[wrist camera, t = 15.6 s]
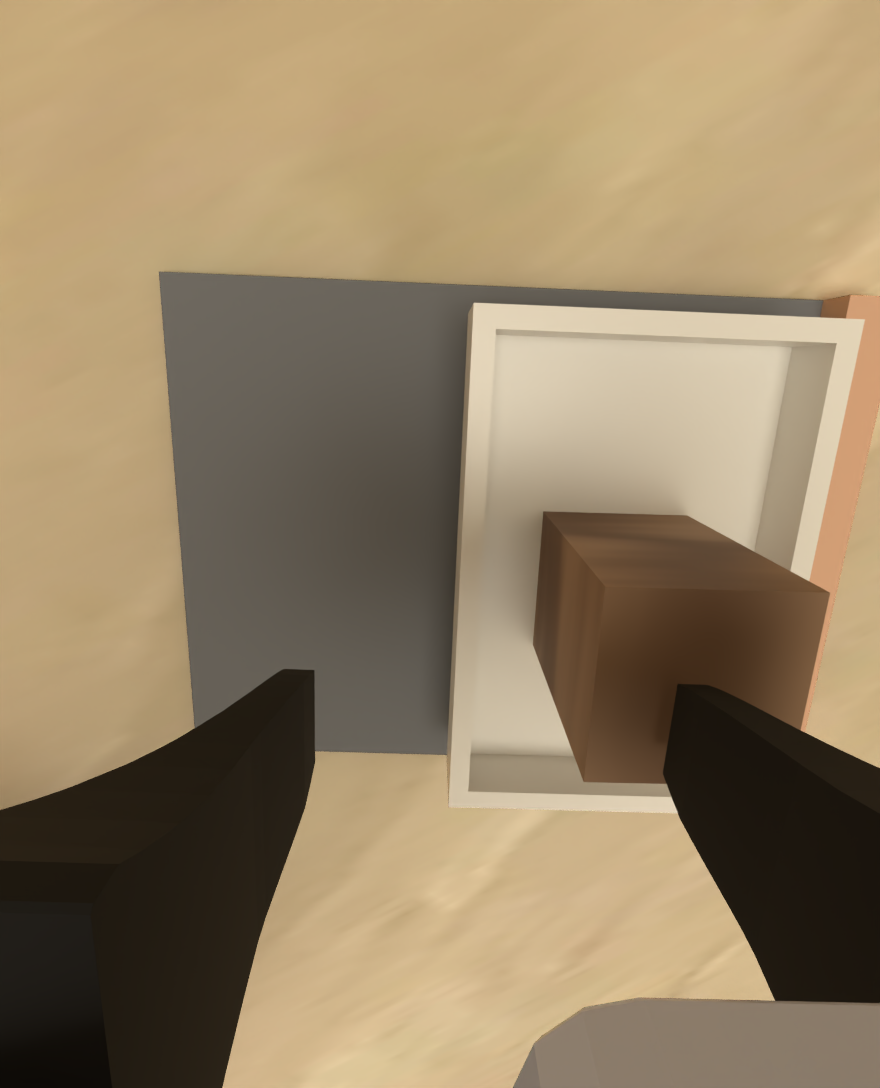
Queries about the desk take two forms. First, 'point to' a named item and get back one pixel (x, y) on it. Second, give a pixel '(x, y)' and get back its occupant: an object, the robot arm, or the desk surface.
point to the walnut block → (663, 632)
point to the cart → (617, 493)
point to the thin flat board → (370, 483)
